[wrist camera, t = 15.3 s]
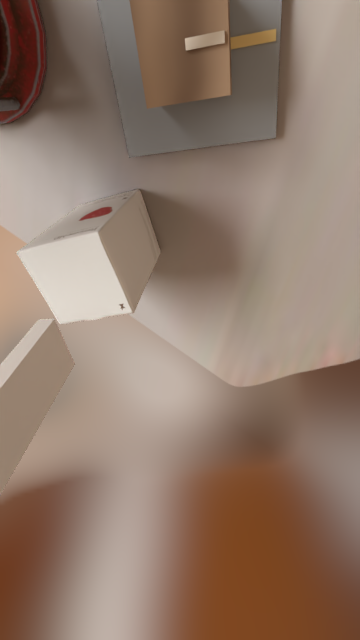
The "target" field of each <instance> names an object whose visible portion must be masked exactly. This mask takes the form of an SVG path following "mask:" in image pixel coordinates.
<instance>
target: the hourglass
mask: <svg viewBox="0 0 360 640" xmlns="http://www.w3.org/2000/svg"><path fill="white" fill-rule="evenodd" d="M46 69H47V54H46V33H45V29H44V25H43V21H42V17H41V14H40V10H39V6H38V2H37V0H0V124H1V123H9V122H13V121H15V120H16V119H18V118H20V117H21V116H23V115H24V114H26V113H28V112H29V111H30V109H31V108H32V106H33V104H34V103H35V101H36V100H37V98H38V97H39V95H40V94H41V90H42V86H43V82H44V77H45V73H46Z"/></svg>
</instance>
